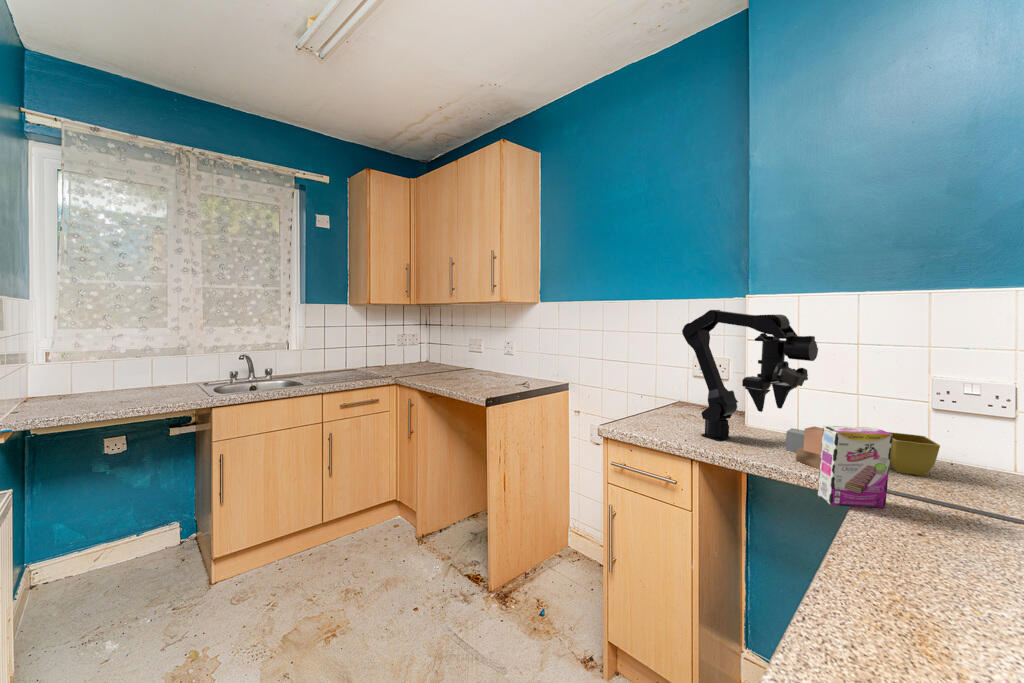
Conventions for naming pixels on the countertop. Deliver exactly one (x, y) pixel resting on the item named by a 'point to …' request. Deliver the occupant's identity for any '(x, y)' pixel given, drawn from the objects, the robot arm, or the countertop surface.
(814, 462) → the base block
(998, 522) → the countertop surface
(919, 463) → the flower pot
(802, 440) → the grey block
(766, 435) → the countertop surface
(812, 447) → the terracotta block
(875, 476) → the candy bar box
